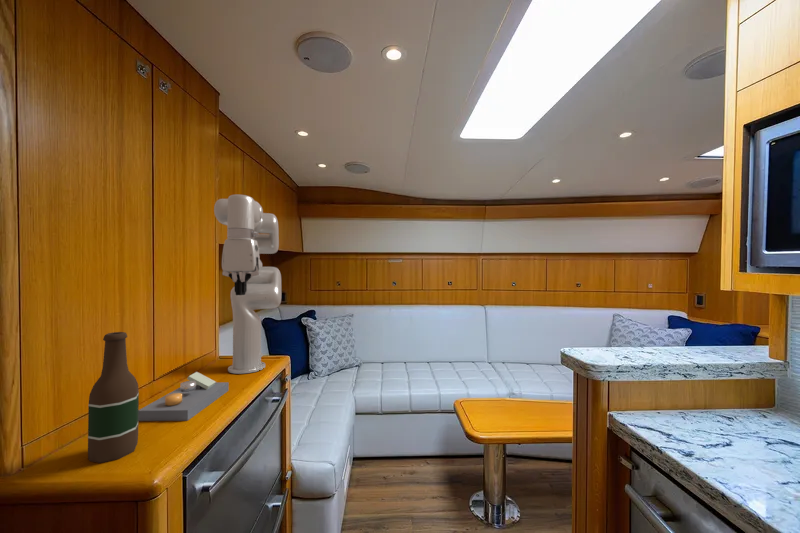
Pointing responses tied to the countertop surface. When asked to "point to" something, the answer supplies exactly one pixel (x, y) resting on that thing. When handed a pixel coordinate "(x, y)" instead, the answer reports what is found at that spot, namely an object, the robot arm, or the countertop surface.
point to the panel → (183, 404)
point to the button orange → (173, 399)
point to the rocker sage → (201, 380)
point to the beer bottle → (113, 405)
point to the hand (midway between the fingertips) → (240, 294)
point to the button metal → (188, 386)
